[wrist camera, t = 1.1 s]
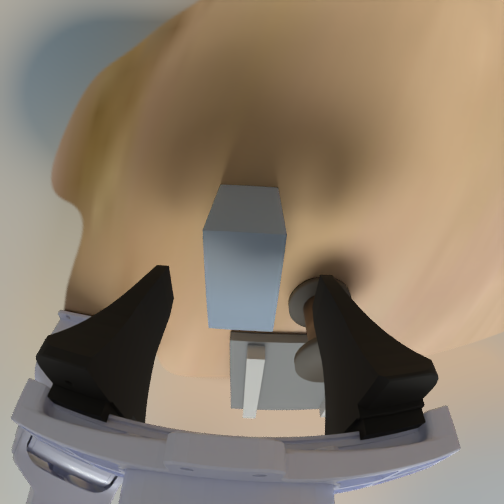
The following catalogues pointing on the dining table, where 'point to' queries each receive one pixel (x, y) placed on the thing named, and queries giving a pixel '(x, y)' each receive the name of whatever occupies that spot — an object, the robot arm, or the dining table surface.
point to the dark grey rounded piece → (308, 330)
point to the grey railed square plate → (270, 374)
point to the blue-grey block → (244, 257)
